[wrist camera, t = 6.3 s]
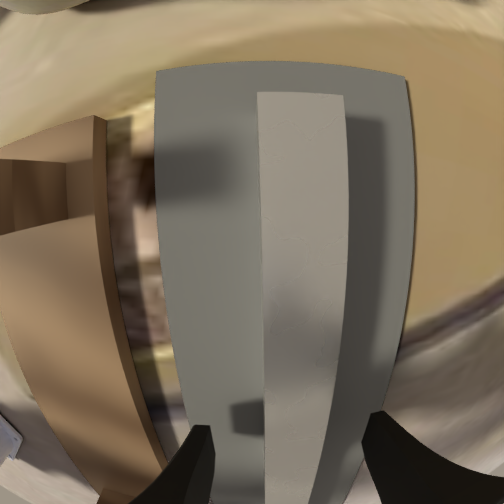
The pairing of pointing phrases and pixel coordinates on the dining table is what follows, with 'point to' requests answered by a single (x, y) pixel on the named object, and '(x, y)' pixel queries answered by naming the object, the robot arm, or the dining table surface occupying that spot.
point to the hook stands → (73, 306)
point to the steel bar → (300, 279)
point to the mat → (249, 261)
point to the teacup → (39, 5)
